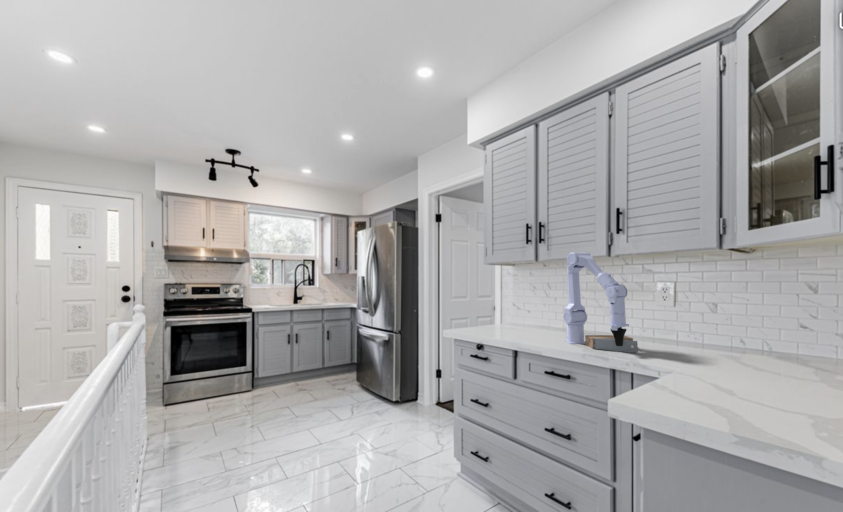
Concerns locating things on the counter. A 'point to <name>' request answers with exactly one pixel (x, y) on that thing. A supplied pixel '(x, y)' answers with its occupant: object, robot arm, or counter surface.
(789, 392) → the counter surface
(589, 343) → the cabinet
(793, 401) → the counter surface
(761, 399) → the counter surface
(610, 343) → the door
